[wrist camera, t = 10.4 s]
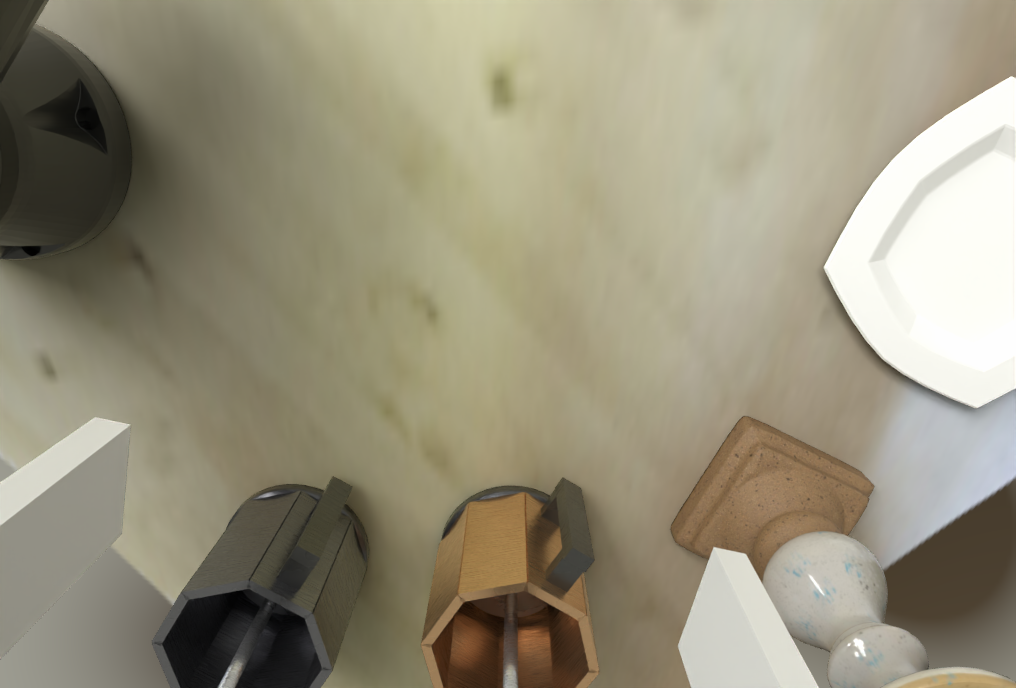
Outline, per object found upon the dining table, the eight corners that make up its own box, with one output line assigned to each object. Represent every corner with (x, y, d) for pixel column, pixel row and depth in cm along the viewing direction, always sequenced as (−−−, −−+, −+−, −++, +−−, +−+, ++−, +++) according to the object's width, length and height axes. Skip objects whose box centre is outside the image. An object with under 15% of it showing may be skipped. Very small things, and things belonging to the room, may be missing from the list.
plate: (996, 35, 45) (1017, 31, 43) (1179, 232, 49) (1206, 236, 47) (775, 266, 49) (786, 271, 48) (957, 431, 53) (974, 442, 51)
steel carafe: (204, 565, 56) (124, 677, 45) (284, 432, 53) (220, 516, 41) (326, 629, 58) (280, 753, 46) (411, 504, 55) (384, 604, 43)
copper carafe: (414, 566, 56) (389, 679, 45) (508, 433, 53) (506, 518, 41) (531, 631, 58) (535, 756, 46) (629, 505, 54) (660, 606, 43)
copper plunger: (438, 578, 54) (400, 801, 36) (494, 499, 52) (485, 693, 34) (526, 627, 55) (532, 866, 37) (585, 552, 53) (621, 765, 35)
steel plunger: (219, 576, 54) (74, 796, 36) (267, 497, 52) (139, 688, 34) (311, 625, 55) (215, 861, 37) (362, 549, 53) (286, 761, 36)
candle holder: (786, 585, 56) (973, 897, 34) (666, 530, 55) (775, 815, 32) (867, 473, 54) (1130, 730, 31) (742, 412, 52) (921, 634, 29)
